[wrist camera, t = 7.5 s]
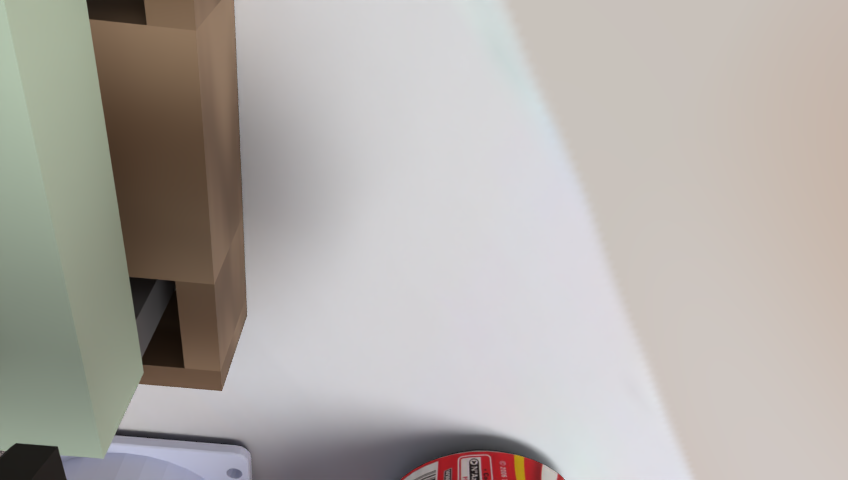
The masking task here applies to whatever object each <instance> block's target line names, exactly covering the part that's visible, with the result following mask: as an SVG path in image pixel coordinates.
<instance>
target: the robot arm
mask: <svg viewBox="0 0 848 480" xmlns="http://www.w3.org/2000/svg"><path fill="white" fill-rule="evenodd" d="M0 480H252V467H251V455H250V452H249V451H248V450H247V449H245V448H243V447H241V446H237V445H227V444H215V443H202V442H190V441H178V440H166V439H154V438H141V437H129V436H117V435H114V438H113V440H112V442H111V444H110V446H109V448H108V451H107V453H106V455H105V457H104V459H100V458H88V457H75V456H63V455H60V453H59V449H58V446H46V445H34V444H22V443H15V444H14V445H13V446H11V447H10V448H9V449H8V450H7V451H6V452H5V453H4V454H3V455H2V456H1V457H0Z"/></svg>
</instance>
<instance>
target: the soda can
mask: <svg viewBox="0 0 848 480" xmlns="http://www.w3.org/2000/svg"><path fill="white" fill-rule="evenodd" d="M401 480H565V479H564V478H563V477H562V476H560V475H559V474H558V473H557V472H555V471H554V470H552V469H551V468H549V467H547V466H546V465H543V464H541V463H539V462H537V461H535V460H532V459H529V458H526V457H522V456H519V455H515V454H509V453H504V452H498V451H489V450H473V451H465V452H460V453H456V454H451V455H448V456H444V457H440V458H438V459H435V460H432V461H430V462H427V463H425V464H423V465H421V466H419V467H417V468H415V469H414V470H412V471H411V472H409V473H408V474H407V475H405V476H404V477H403V478H402V479H401Z"/></svg>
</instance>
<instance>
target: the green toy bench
mask: <svg viewBox="0 0 848 480" xmlns="http://www.w3.org/2000/svg"><path fill="white" fill-rule="evenodd" d="M175 288H176V285H175V281H170V280H159V279H148V278H137V277H129V274H128V268H127V261H126V255H125V248H124V242H123V235H122V229H121V222H120V216H119V209H118V203H117V196H116V190H115V183H114V177H113V171H112V164H111V158H110V151H109V145H108V138H107V132H106V125H105V119H104V112H103V106H102V99H101V93H100V86H99V80H98V74H97V67H96V61H95V54H94V48H93V41H92V35H91V28H90V22H89V15H88V9H87V2H86V0H0V450H1V451H7V450H8V449H9V448H10V447H11V446H13V445H14V444H15V443H22V444H34V445H46V446H58V449H59V453H60V455H63V456H75V457H88V458H100V459H104V457H105V455H106V453H107V451H108V448H109V446H110V444H111V442H112V440H113V438H114V435H115V433H116V431H117V429H118V427H119V425H120V423H121V420H122V418H123V416H124V414H125V412H126V410H127V408H128V405H129V403H130V401H131V399H132V397H133V395H134V393H135V390H136V388H137V386H138V384H139V382H140V380H141V377H142V375H143V373H144V371H143V365H142V357H143V355H144V352H145V350H146V348H147V346H148V344H149V342H150V340H151V338H152V336H153V334H154V332H155V330H156V327H157V325H158V323H159V321H160V319H161V317H162V315H163V313H164V311H165V309H166V307H167V304H168V302H169V300H170V298H171V296H172V294H173V292H174V290H175Z"/></svg>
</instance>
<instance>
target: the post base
mask: <svg viewBox="0 0 848 480" xmlns="http://www.w3.org/2000/svg"><path fill="white" fill-rule="evenodd" d="M86 2H87V9H88V15H89V22H90V28H91V35H92V41H93V48H94V54H95V61H96V67H97V74H98V80H99V86H100V93H101V99H102V106H103V112H104V119H105V125H106V132H107V138H108V145H109V151H110V158H111V164H112V171H113V177H114V183H115V190H116V196H117V203H118V209H119V216H120V222H121V229H122V235H123V242H124V248H125V255H126V261H127V268H128V274H129V277H137V278H148V279H159V280H170V281H175V285H176V291H175V290H174V292H173V294H172V296H171V298H170V300H169V302H168V304H167V307H166V309H165V311H164V313H163V315H162V317H161V319H160V321H159V323H158V325H157V327H156V330H155V332H154V334H153V336H152V338H151V340H150V342H149V344H148V346H147V348H146V350H145V352H144V355H143V357H142V365H143V371H144V373H143V375H142V377H141V380H140V382H139V384H147V385H159V386H170V387H182V388H194V389H205V390H217V391H222V389H223V386H224V383H225V380H226V377H227V374H228V371H229V368H230V365H231V362H232V359H233V356H234V353H235V350H236V347H237V344H238V341H239V338H240V335H241V332H242V329H243V326H244V323H245V320H246V317H247V304H246V280H245V256H244V232H243V207H242V183H241V159H240V135H239V111H238V87H237V63H236V39H235V15H234V0H86Z"/></svg>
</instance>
